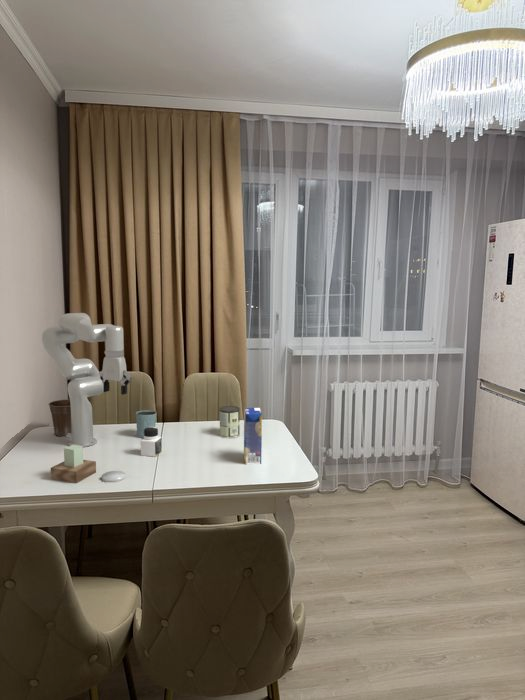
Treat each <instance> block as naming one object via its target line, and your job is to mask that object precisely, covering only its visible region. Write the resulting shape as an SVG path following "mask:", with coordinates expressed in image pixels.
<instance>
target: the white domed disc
mask: <svg viewBox="0 0 525 700" xmlns="http://www.w3.org/2000/svg"><path fill="white" fill-rule="evenodd" d="M126 478H127V477H126V472H125V471H123V470H111V471H106V472H104V473H102V474H101V481H103V482H104V483H105V482H106V483H117V482H118V483H119V482H121V481H123V480H125V479H126Z"/></svg>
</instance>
